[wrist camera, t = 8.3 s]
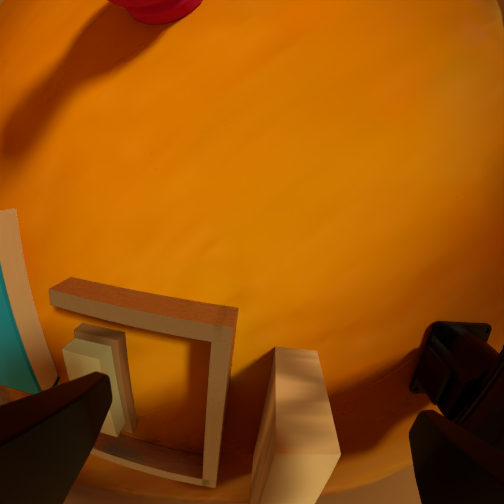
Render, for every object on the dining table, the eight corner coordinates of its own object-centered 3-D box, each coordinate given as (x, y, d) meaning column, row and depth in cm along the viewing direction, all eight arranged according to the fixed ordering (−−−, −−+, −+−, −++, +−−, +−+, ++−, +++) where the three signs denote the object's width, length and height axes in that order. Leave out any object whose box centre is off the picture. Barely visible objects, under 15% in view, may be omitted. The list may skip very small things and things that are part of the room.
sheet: (316, 350, 21) (340, 454, 11) (286, 456, 24) (287, 545, 14) (275, 346, 21) (275, 452, 11) (253, 453, 24) (245, 543, 14)
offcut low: (128, 328, 22) (117, 340, 20) (139, 420, 24) (132, 433, 23) (86, 319, 22) (73, 329, 20) (102, 409, 25) (94, 421, 23)
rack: (238, 308, 21) (233, 327, 18) (219, 465, 24) (215, 488, 21) (71, 277, 21) (48, 289, 18) (95, 432, 25) (83, 450, 22)
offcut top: (111, 346, 21) (98, 359, 19) (125, 422, 22) (117, 437, 20) (75, 337, 21) (61, 349, 19) (92, 413, 22) (83, 426, 20)
